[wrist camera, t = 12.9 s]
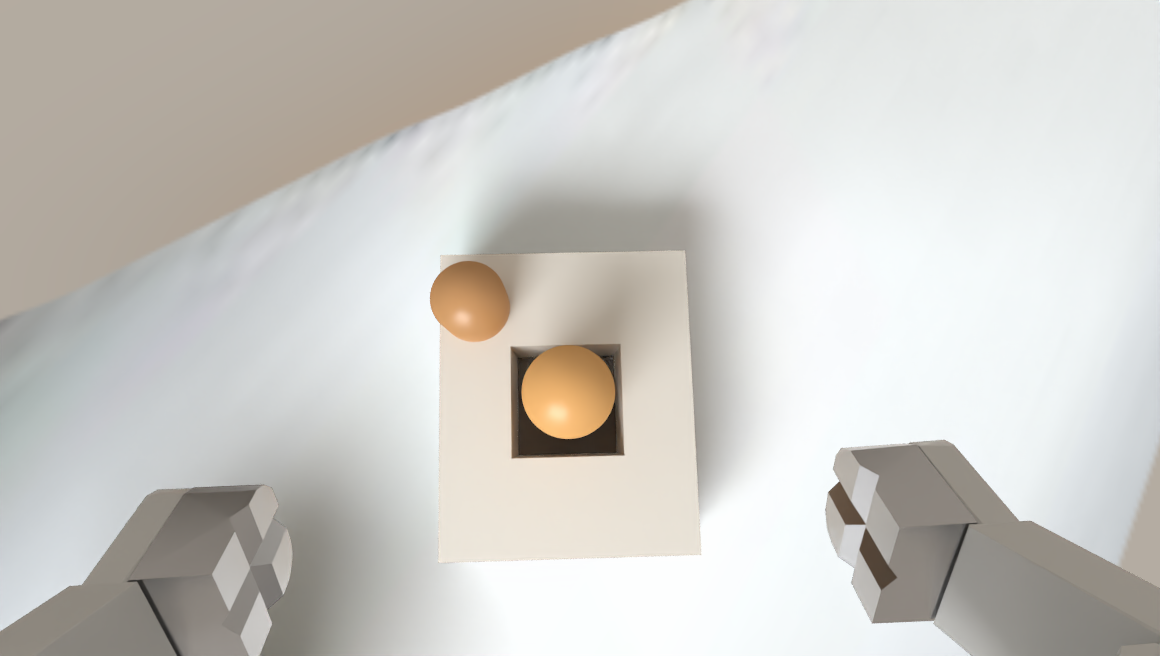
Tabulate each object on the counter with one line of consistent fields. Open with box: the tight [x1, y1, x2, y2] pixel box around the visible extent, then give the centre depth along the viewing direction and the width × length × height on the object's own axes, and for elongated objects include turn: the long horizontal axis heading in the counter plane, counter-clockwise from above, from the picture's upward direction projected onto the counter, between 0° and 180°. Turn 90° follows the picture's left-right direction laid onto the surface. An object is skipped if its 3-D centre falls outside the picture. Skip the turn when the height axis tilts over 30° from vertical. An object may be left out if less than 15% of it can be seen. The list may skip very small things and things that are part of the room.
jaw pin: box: [521, 345, 615, 439], centre depth 26 cm, size 3×3×9 cm
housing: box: [430, 250, 701, 563], centre depth 27 cm, size 10×12×6 cm
